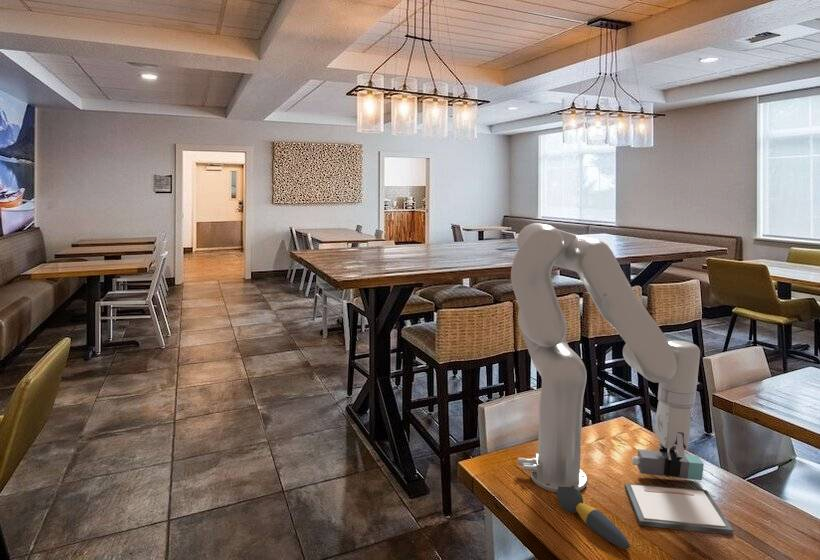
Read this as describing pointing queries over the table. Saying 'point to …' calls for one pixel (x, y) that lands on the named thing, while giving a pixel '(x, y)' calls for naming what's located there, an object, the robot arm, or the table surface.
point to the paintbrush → (591, 516)
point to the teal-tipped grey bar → (656, 462)
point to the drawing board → (677, 508)
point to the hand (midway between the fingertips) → (668, 469)
